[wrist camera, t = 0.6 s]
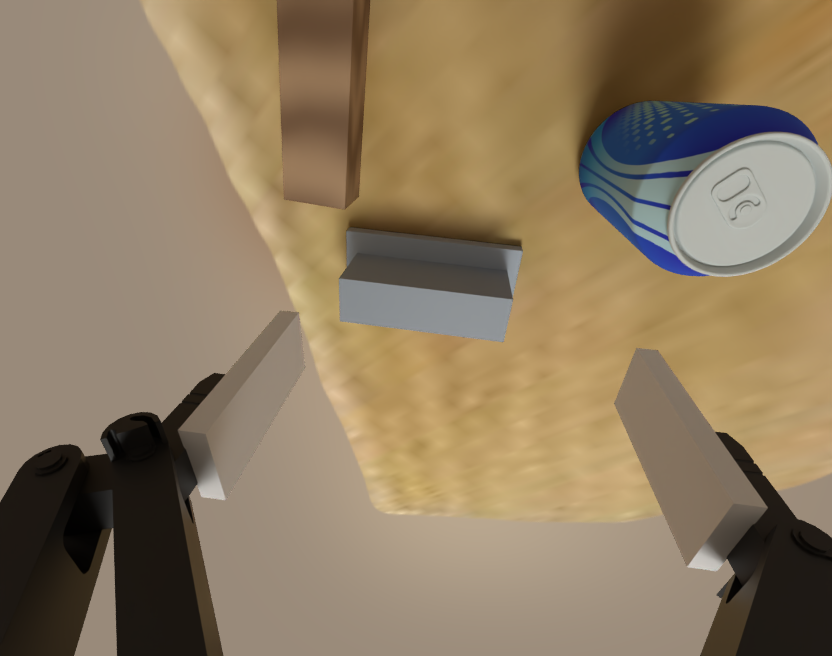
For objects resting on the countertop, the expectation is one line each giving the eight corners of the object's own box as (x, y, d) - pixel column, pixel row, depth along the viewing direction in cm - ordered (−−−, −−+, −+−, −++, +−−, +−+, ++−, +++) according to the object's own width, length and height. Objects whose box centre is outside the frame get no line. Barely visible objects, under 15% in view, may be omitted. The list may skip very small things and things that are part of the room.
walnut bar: (302, -221, 24) (266, -288, 20) (383, -210, 24) (364, -275, 20) (305, 186, 37) (283, 199, 32) (359, 195, 37) (344, 209, 32)
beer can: (703, 97, 30) (903, 102, 16) (672, 212, 34) (808, 294, 20) (584, 103, 31) (675, 111, 17) (568, 214, 35) (630, 293, 21)
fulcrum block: (349, 227, 38) (326, 253, 32) (521, 246, 37) (531, 277, 31) (350, 302, 42) (329, 339, 36) (504, 322, 41) (510, 363, 35)
